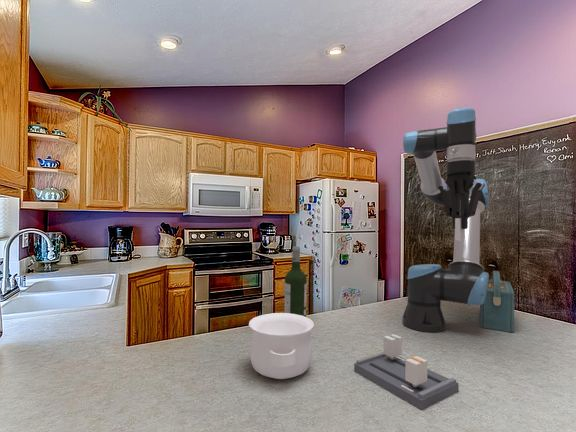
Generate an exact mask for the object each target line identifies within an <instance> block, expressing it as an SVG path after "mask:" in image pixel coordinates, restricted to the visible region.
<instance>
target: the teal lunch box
mask: <svg viewBox="0 0 576 432" xmlns="http://www.w3.org/2000/svg"><path fill="white" fill-rule="evenodd" d="M479 319H480V320H479V327H480V328H482V329H488V330H494V331H499V332H506V333H514V332H515V291H514V289H513V287H512V284H511V282H510V281H508V280H501V273H500V271H499V270H492V278H490V279H489V280H488V287H487V294H486V299H485V302H484V304H482V305H479Z"/></svg>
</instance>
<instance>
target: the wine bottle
mask: <svg viewBox="0 0 576 432" xmlns="http://www.w3.org/2000/svg"><path fill="white" fill-rule="evenodd" d="M291 251H292V259H291V268H290V270H289V271H288V272H287V273H286V275H284V276H285V277H284V311H283V313H291V314H297V315H302V316H304V317H307V288H308V287H307V286H308V285H307V283H308V282H307V281H308V280H307V279H308V278H307V275H306V274H305V272H304V271H303V270H302V269H301V255H300V253H301V247H300V246H297V245H296V246H292V250H291Z"/></svg>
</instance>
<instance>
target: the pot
mask: <svg viewBox="0 0 576 432" xmlns="http://www.w3.org/2000/svg"><path fill="white" fill-rule="evenodd" d="M248 327H249V328H250V330H252V333H251V338H250V346H249V359H250V362H251V366H252V368H253V369H254V370H255V372H257V373H259V374H260V375H261V376H263V377H267V378H271V379H276V380H287V379H292V378H294V377H297V376H300V375H302V374H304V373H305V372H306V371H307V370H308V369H309V367H310V364H311V361H312V357H313V342H312V340H313V339H312V334H311V331H312V330H313V329H314V327H315V323H314V322H313V320H312V319H311V318H309V317H307V316H306V317H304V316H302V315H297V314H291V313H284V312H274V313H273V312H272V313H266V314H260V315H258V316H255V317H253V318H251V319H250V320H249V323H248Z"/></svg>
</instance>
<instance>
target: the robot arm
mask: <svg viewBox="0 0 576 432" xmlns="http://www.w3.org/2000/svg"><path fill="white" fill-rule="evenodd" d="M446 117H447V119H446V127H439V128H438V127H437V128H430V129H429V128H428V129H420V130H414V131H408V132H405V133H404V135H403V139H402V145H403V152H404V153H405V154H409V155H410V154H411V155H413V158H414V161H415V165H416V169H417V172H418V176H419V178H420V190H421V193H422V195H423V196H424V197H425V198H426V199H427V200H428V201H429V202H431V204H434V205H437V206H440V207H444V211H445V215H446V216H447V217H451V219H452V229H454V238H453V239H454V241H453V259H452V262H449V264H448V266H447V268H442V266H441V265H440V264H439V263H436V264H435V263H427V264H426V263H424V264H415V265H411V266H409V267H408V270H407V277H406V279H407V303H406V307H405V308H404V309H405V310H404V312H403V315H402V324H403V326H405V328H409V329H411V330H415V331H420V332H423V333H424V332H425V333H440V332H444V331H446V327H447V326H446V320H445V318H444V316H445V315H444V314H443V310H442V307H441V305H442V304H441V301H442V302H447V303H449V302H450V303H456V304H463V305H464V304H465V305H472V306H473V305H474V306H480V305H482V304H484V302H485V299H486V294H487V287H488V280H490V275H489V273H488V272H486V271H485V268H484V266H483V265H482V264H480V253H481V252H480V251H481V250H480V248H481V247H480V246H481V245H480V243H481V241H480V240H481V214H482V212H484V211H485V208H486V207H489V204H490V199H489V198H490V196H489V190H488V184H487V181H486V180H485V179H483V178H477V177H476V175H475V174H476V162H475V161H474V160H475V159H476V140H477V129H476V122H477V121H476V120H477V117H476V110H475V109H474V108H472V107H459V108H456V109H452V110H450V111H449V112H448V113H447V116H446ZM440 151H441V152H442V151H446V161H447V163H446V179H444V178H443V177H442V176H441V175H442V174H441V171H440V166H439V161H438V156H437V152H440Z"/></svg>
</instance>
